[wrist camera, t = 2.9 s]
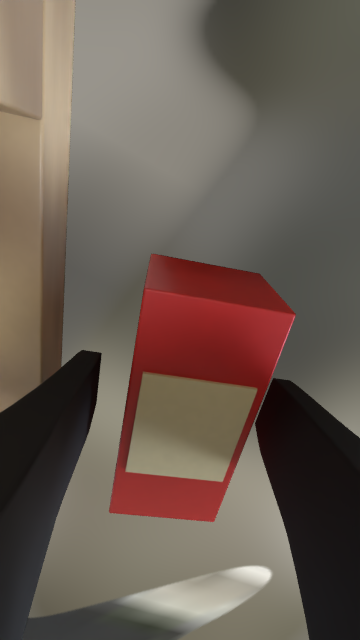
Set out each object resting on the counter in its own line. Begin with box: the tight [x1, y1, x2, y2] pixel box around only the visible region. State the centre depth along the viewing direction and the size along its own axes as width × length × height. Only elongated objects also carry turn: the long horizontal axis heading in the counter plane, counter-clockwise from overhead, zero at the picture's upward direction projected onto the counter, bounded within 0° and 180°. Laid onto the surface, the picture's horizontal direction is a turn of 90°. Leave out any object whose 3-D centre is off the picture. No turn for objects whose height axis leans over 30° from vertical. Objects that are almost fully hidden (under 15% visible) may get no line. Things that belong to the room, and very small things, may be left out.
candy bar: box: [109, 254, 296, 522], centre depth 10 cm, size 8×4×3 cm, turn 169°
